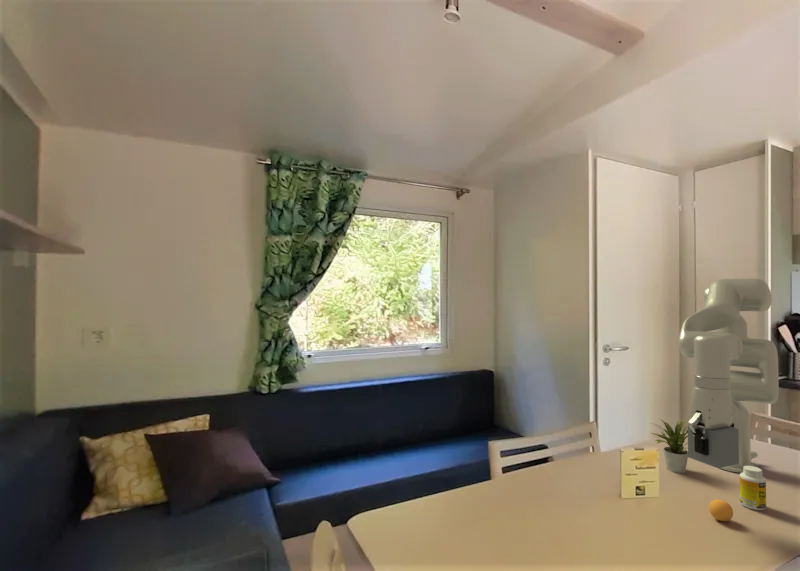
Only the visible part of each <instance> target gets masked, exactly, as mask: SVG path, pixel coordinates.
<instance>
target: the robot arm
mask: <svg viewBox="0 0 800 571" xmlns="http://www.w3.org/2000/svg"><path fill="white" fill-rule="evenodd" d="M772 296H773V295H772V292H771V289H770V287H769V285H768V283H767V282H765V281H764V280H763V279H760V278H754V277H753V278H750V277H749V278H720V279H717V280H715V281H712V282H711V284H709V286H708V287H706V288H705V289H704V292H703V300H704V301H705V303H704V307H703V308H701V309H699V310H697V311H696V312H694V313H693V314H691V315H690V316H688V317H687V318H686V319H685V320H684V321H683V323H682V325H681V328H680V331H679V336H678V343H677V344H678V350H679V352H680V354H681V355H682V356H683V357H686V358H690V359H694V360H693V361H694V362H693V364H694V365H693V366H694V370H693V371H694V373H693V374H694V387H693V388H692V392H691V398H690V407H689V421H688V422H687V427H688V426H689V428H690V430H691V432H692V433H693V436H694V439H695V452H697V453H700V454H703V455H708V439H706V438H707V435H708V430H711V429H717V428H723V427H728V426H730V427H733V428H737V429H738V435H739V464H736V465H731V466H726V467H722V468H720V469H721V470H725V471H728V472H732V473H739V474H740V473H742V472H743V467H744V466H754V467H757V468H758V466H757V464H755V463H754V462H752V459H756V458H758V456H759V455H758V453H757V451H751V450H752V449H751V447H752V446H751V416H750V412H749V410H748V409H747V408H746V407H745V406H744V404H743V403H742V402H748V403H749V402H751V403H756V404H757V403H758V404H765V405H766V404H767V405H771V404H775V403H776V402H777V401H778V399H779V394H780V393H779V391H780V389H779V388H780V387H779V355H778V349H777V347H776V346H777V345H775V343H774V342H773V341H771V340H769V339H766V338H765V339H764V338H750V337H749V336H748V323H747V321H746V319H745V318H744V317H743V316H742V315H741V312H757V313H758V312H761V313H762V312H766V311H768V310H769V309H770V308H771V306H772V301H773V300H772V299H773V297H772ZM731 367H739V368H740V367H741V368H751V369H755V370H758V371H759V372H754V371H746V370H745V371H744V370H737V369H735V370H734V369H731ZM701 424H703V425H705V426H702V425H701ZM699 428H702V429H704V430H703V433H702V432H701V431H700V430H699Z"/></svg>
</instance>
